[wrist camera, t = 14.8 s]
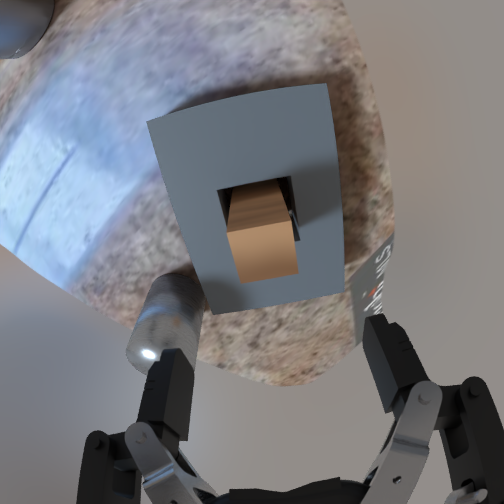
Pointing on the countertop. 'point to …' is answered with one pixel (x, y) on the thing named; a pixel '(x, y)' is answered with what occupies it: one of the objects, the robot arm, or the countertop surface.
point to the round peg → (167, 321)
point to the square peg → (261, 232)
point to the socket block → (253, 170)
